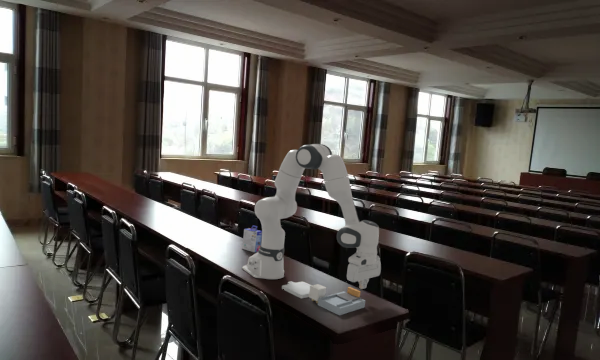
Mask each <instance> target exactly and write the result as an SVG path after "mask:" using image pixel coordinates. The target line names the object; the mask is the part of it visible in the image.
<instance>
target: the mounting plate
mask: <svg viewBox="0 0 600 360" xmlns="http://www.w3.org/2000/svg"><path fill="white" fill-rule="evenodd" d="M310 286H312V284H309V283H307V282H305V281H298V282H294V281H292V280H291V281H288V282H287V284H283V285H281V290H283V289H284V290H283V291H285V292H287V293H289V294H291V295H293V296H295V297H297V298H300V299H304V298H305V299H306V298H310V297H309V291H310Z"/></svg>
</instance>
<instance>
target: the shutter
mask: <svg viewBox="0 0 600 360" xmlns="http://www.w3.org/2000/svg"><path fill="white" fill-rule="evenodd" d="M346 290H347V291H344V292H345V293H341V294H338V295H336V296H337V297H339V298H341V299H343V300H346V301H350V300H352V301H354V300H358V299H362V297H361V291H360V290H359V289H356V288H353V287H351V286H348V287H347V289H346Z"/></svg>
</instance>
